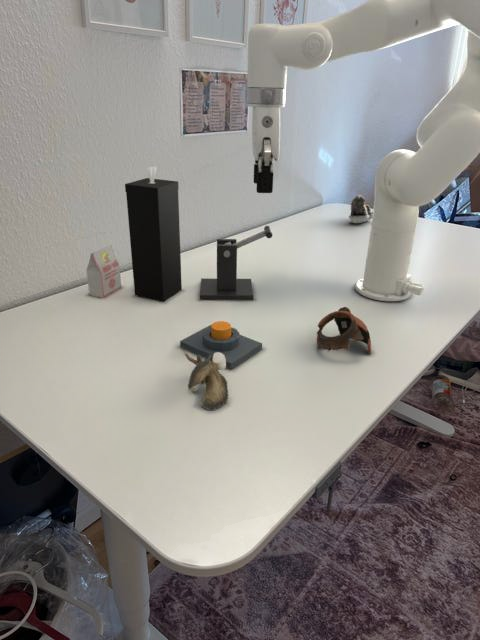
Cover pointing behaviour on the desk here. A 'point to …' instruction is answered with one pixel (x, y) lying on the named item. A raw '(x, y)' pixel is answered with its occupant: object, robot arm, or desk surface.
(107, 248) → the strawberry milk carton
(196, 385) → the furry animal figurine
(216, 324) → the warm button
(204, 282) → the lever press stand
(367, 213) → the bison figurine
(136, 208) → the black tall block
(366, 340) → the brown curved open piece
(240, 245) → the switch lever
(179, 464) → the desk surface
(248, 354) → the control block
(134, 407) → the desk surface
